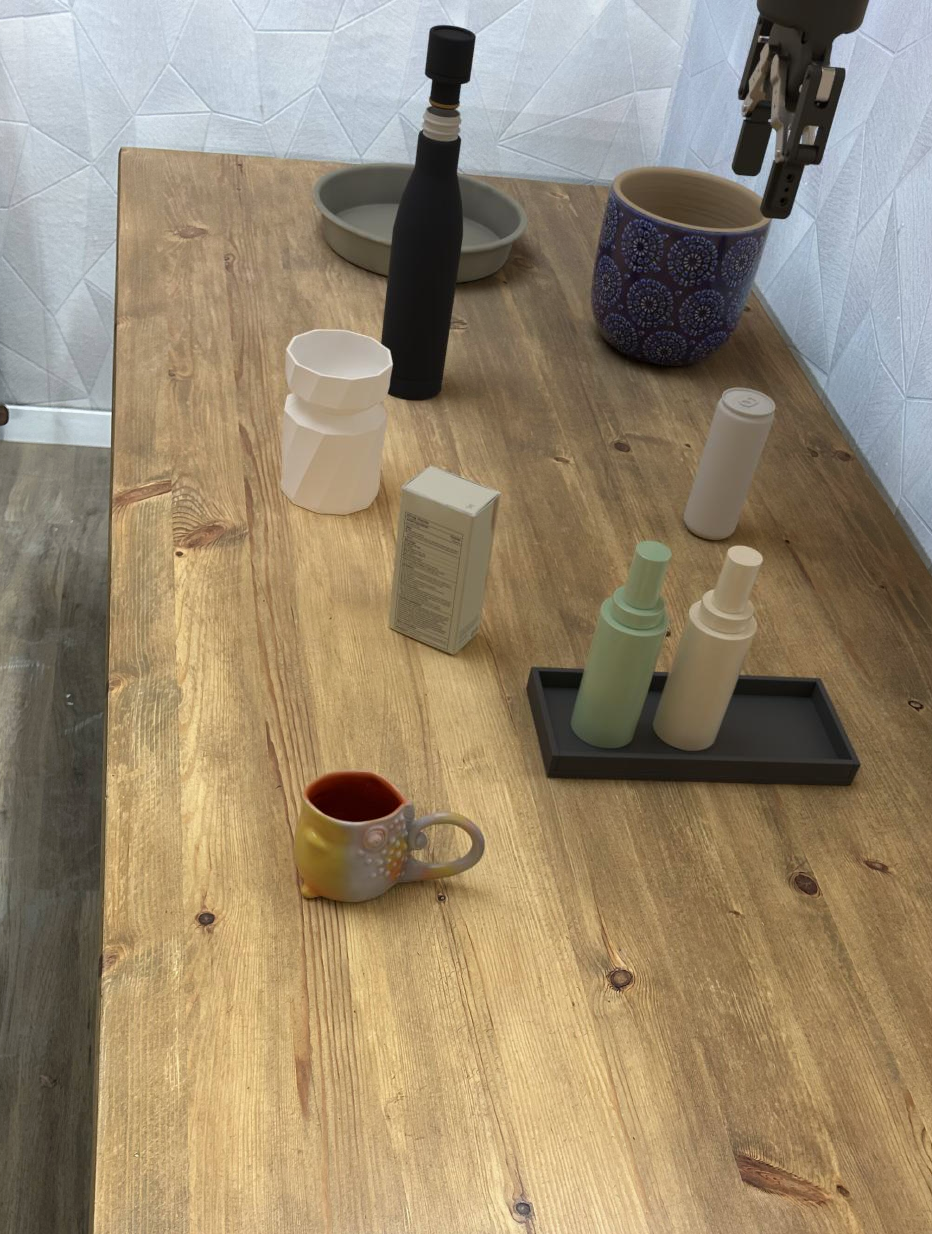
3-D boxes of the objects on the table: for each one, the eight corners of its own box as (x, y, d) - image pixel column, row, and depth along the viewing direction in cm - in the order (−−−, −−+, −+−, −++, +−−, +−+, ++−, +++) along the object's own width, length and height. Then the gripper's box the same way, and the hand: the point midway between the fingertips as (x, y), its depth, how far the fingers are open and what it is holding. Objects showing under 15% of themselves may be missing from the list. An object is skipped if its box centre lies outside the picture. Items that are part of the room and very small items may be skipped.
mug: (283, 900, 85) (289, 824, 80) (301, 826, 89) (307, 749, 85) (471, 930, 85) (488, 856, 80) (479, 855, 90) (495, 780, 85)
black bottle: (369, 391, 130) (405, 34, 108) (386, 363, 135) (424, 14, 113) (433, 406, 130) (483, 50, 108) (447, 377, 134) (498, 30, 112)
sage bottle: (627, 707, 101) (680, 532, 90) (640, 749, 98) (697, 573, 87) (565, 705, 100) (611, 528, 89) (576, 748, 97) (625, 569, 86)
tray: (811, 699, 106) (820, 677, 104) (850, 785, 99) (861, 764, 98) (525, 688, 102) (531, 666, 101) (547, 777, 96) (552, 755, 94)
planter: (730, 393, 139) (776, 244, 128) (573, 363, 140) (606, 211, 129) (730, 326, 151) (772, 183, 140) (584, 298, 151) (615, 153, 140)
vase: (358, 525, 114) (372, 390, 106) (263, 497, 116) (269, 361, 107) (392, 478, 120) (408, 346, 111) (301, 451, 121) (310, 319, 112)
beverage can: (671, 523, 121) (709, 395, 112) (702, 507, 123) (742, 381, 114) (713, 548, 119) (755, 420, 110) (744, 531, 121) (788, 405, 112)
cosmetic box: (480, 632, 106) (507, 492, 97) (453, 658, 104) (478, 517, 95) (410, 601, 108) (430, 461, 99) (382, 626, 105) (400, 484, 96)
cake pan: (558, 248, 159) (565, 208, 156) (452, 312, 144) (458, 269, 141) (384, 184, 166) (388, 144, 163) (266, 238, 151) (267, 196, 148)
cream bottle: (707, 710, 102) (769, 537, 91) (722, 752, 99) (789, 578, 88) (646, 708, 101) (702, 533, 90) (660, 750, 98) (719, 574, 87)
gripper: (917, -26, 87) (832, 236, 99) (849, -82, 96) (779, 164, 108) (806, -38, 86) (734, 228, 98) (749, -93, 95) (690, 156, 107)
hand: (758, 194), depth 103 cm, fingers open, 8 cm apart
